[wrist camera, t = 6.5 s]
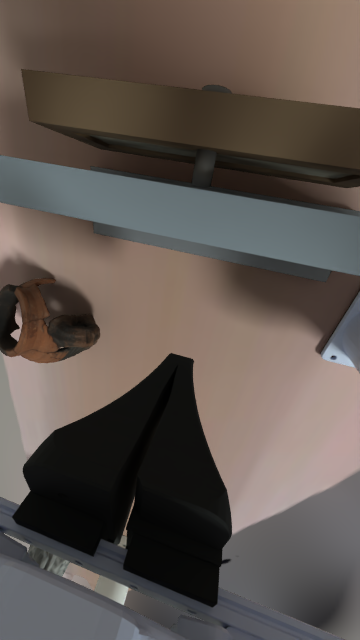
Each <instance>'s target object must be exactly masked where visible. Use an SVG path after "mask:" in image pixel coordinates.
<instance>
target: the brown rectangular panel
mask: <svg viewBox="0 0 360 640" xmlns="http://www.w3.org/2000/svg"><path fill="white" fill-rule="evenodd" d="M21 71H22V77H23V84H24V90H25V96H26V103H27V109H28V116H29V121H31V122H34V123H36V124H39V125H41V126H44V127H46V128H49V129H51V130H54V131H56V132H59V133H62V134H64V135H67V136H69V137H72V138H74V139H77V140H79V141H82V142H84V143H87V144H89V145H92V146H94V147H97V148H99V149H103V150H110V151H116V152H122V153H129V154H135V155H141V156H147V157H154V158H160V159H166V160H173V161H179V162H185V163H192V164H195V165H194V172H193V178H192V184H193V185H198V186H203V187H210V186H211V181H212V176H213V171H214V167H217V168H223V169H230V170H236V171H242V172H249V173H255V174H261V175H268V176H274V177H280V178H287V179H293V180H299V181H306V182H312V183H318V184H325V185H331V186H337V187H344V188H351V187H358V186H360V109H359V108H351V107H342V106H334V105H325V104H316V103H308V102H299V101H291V100H282V99H274V98H265V97H256V96H248V95H239V94H232V93H231V91H230V90H229V89H227V88H225V87H222V86H219V85H207V86H204V87H203V88H202V90H196V89H188V88H179V87H170V86H162V85H153V84H145V83H136V82H127V81H119V80H110V79H102V78H93V77H84V76H76V75H67V74H59V73H50V72H41V71H33V70H24V69H21Z"/></svg>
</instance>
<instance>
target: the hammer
mask: <svg viewBox="0 0 360 640" xmlns="http://www.w3.org/2000/svg"><path fill="white" fill-rule="evenodd" d="M28 554H29V555H30V556H31V558H32V559H33V560H35V561H36V562H37V563H38V564H39V568H42V569H44V570H47V571H49V572H52V573H54V574H56V575H59V576H61V577H62V576H63V574H64V572H65V570H66V568H67V566H68V564H69V563H70V562H69V561H67V560H65V559H62V558H60V557H58V556H55V555H53V554H51V553H49V552H46V551H44V550H42V549H39V548H37V547H35V546H33V545H30V548H29V551H28Z"/></svg>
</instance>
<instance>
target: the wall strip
mask: <svg viewBox="0 0 360 640" xmlns="http://www.w3.org/2000/svg"><path fill="white" fill-rule="evenodd" d="M90 167H91V171H90V170H84V169H78V168H72V167H66V166H61V165H55V164H49V163H43V162H37V161H31V160H26V159H20V158H14V157H8V156H2V155H0V202H1V203H6V204H11V205H16V206H20V207H25V208H30V209H35V210H40V211H45V212H50V213H55V214H60V215H64V216H69V217H74V218H79V219H84V220H89V221H93V226H94V233H96V234H101V235H105V236H110V237H115V238H120V239H124V240H129V241H134V242H138V243H143V244H148V245H153V246H157V247H162V248H167V249H171V250H176V251H181V252H185V253H190V254H195V255H200V256H204V257H209V258H214V259H218V260H223V261H228V262H233V263H237V264H242V265H247V266H251V267H256V268H261V269H265V270H270V271H275V272H280V273H284V274H289V275H294V276H298V277H303V278H308V279H313V280H317V281H322V282H326V281H327V279H328V277H329V275H330V273H331V271H332V270H333V271H338V272H343V273H348V274H352V275H357V276H360V211H355V210H349V209H343V208H337V207H331V206H325V205H319V204H313V203H307V202H301V201H295V200H289V199H283V198H278V197H272V196H266V195H260V194H254V193H248V192H242V191H236V190H230V189H224V188H218V187H212V186H210V187H203V186H198V185H193V184H192V183H188V182H182V181H177V180H171V179H165V178H159V177H153V176H147V175H141V174H135V173H129V172H123V171H117V170H111V169H105V168H99V167H93V166H90Z"/></svg>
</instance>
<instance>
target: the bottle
mask: <svg viewBox="0 0 360 640" xmlns="http://www.w3.org/2000/svg"><path fill="white" fill-rule="evenodd" d="M126 542H127V537H126V536H123V535H122V538H121V541H120V543H119V544H118V546H120V547H122V548H126ZM128 588H129V587H126V586H124V585H122V584H119V583H117V582H115V581H113V580H110V579H108V578H106V577H103V576H101V575H100V576H99V579H98V582H97V584H96V587H95V590H94V591H95V592H97V593H99V594H101V595H103V596H105V597H108V598H110V599H112V600H114V601H116V602H118V603H120V604H122V605H124V602H125V598H126V595H127V591H128Z"/></svg>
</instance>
